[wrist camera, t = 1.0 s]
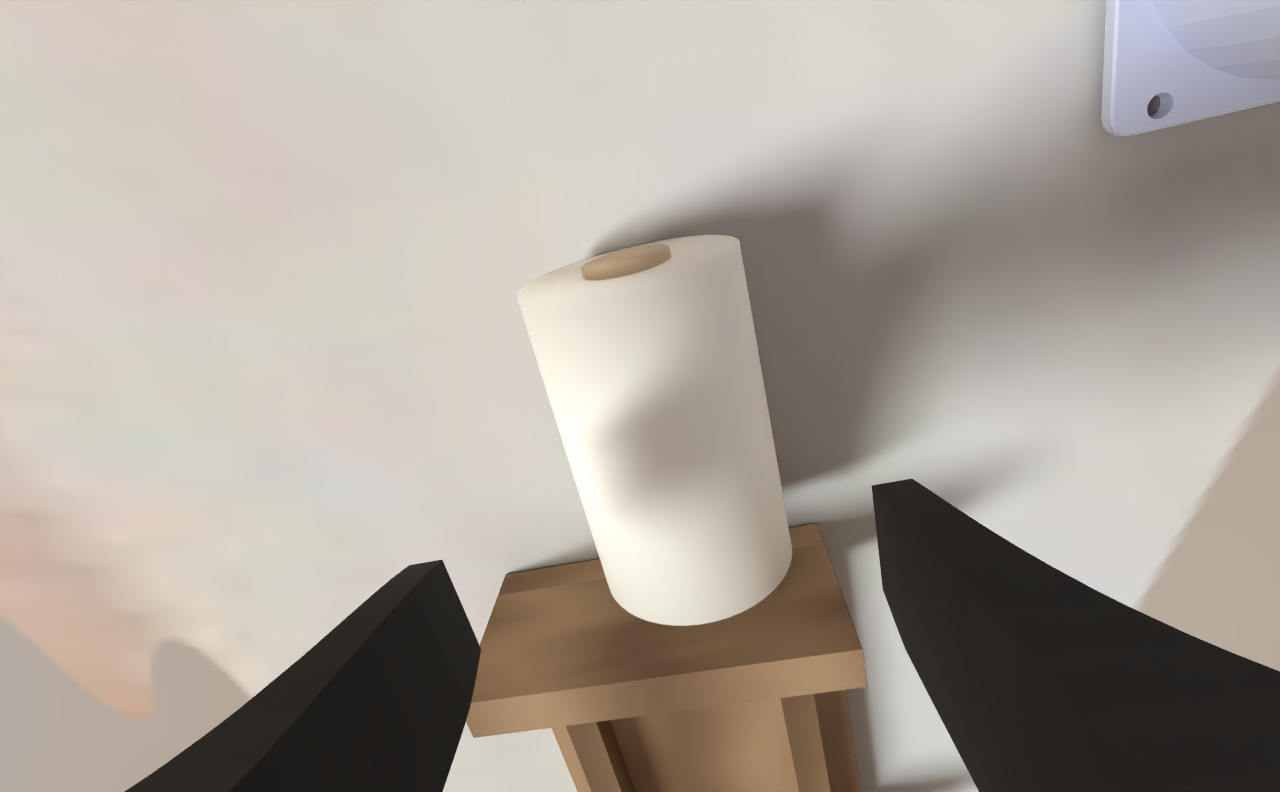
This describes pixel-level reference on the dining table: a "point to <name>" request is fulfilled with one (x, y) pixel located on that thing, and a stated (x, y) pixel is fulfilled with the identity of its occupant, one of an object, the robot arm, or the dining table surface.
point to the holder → (678, 683)
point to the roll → (665, 424)
